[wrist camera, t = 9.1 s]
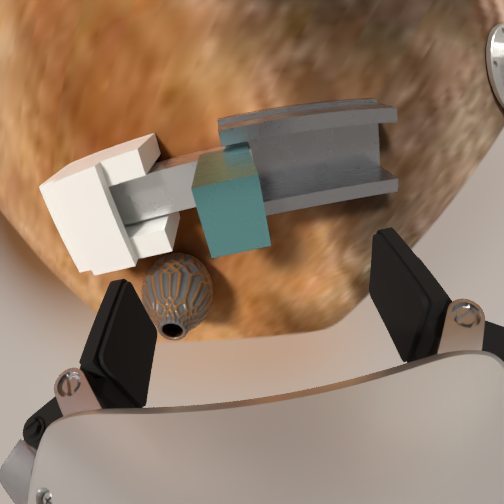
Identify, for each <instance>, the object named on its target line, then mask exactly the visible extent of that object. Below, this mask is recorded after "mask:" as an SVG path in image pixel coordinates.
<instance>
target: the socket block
mask: <svg viewBox="0 0 504 504" xmlns="http://www.w3.org/2000/svg"><path fill="white" fill-rule="evenodd" d="M160 154H161V153H160V149H159V146H158V142H157V139H156V135H155V133H153V134H149V135H146V136H143V137H140V138H137V139H134V140H131V141H128V142H125V143H122V144H119V145H116V146H113V147H110V148H108V149H105V150H102V151H99V152H97V153H94V154H92V155H89V156H86V157H84V158H81V159H79V160H77V161H74V162H72V163H69V164H68V165H67V166H65V167H64V168H63V169H61V170H60V171H59V172H57V173H56V174H55V175H53V176H52V177H51V178H49V179H48V180H47V181H45V182H44V183H43V184H42V185H40V186H39V188H40V190H41V193H42V195H43V198H44V200H45V202H46V205H47V207H48V209H49V212H50V214H51V216H52V218H53V220H54V223H55V225H56V227H57V229H58V231H59V233H60V235H61V237H62V239H63V241H64V243H65V245H66V247H67V249H68V251H69V253H70V255H71V257H72V259H73V261H74V263H75V265H76V266H77V268H78V270H79V272H84V271H89V270H92V272H93V274H94V275H98V274H103V273H107V272H112V271H116V270H121V269H125V268H130V267H134V266H136V264H137V261H138V259H140V258H145V257H149V256H154V255H158V254H162V253H167V252H171V251H173V246H174V242H175V238H176V233H177V229H178V225H179V220H180V214H179V211H177V212H173V213H169V214H165V215H161V216H157V217H153V218H149V219H145V220H141V221H138V222H134V223H130V224H126V225H123V222H122V220H121V218H120V215H119V213H118V210H117V208H116V205H115V202H114V200H113V197H112V195H111V192H110V189H109V187H110V186H113V185H116V184H119V183H122V182H126V181H129V180H132V179H135V178H139V177H142V176H145V175H146V174H147V173H148V171H149V170H150V168H151V167H152V166H153V164H154V163H155V161H156V160H157V159H158V157H159V156H160Z"/></svg>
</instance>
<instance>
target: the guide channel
mask: <svg viewBox="0 0 504 504" xmlns="http://www.w3.org/2000/svg"><path fill="white" fill-rule="evenodd" d="M389 122H398V121H397V108H396V107H392V106H389V105H385V104H381V103H377V101H376V99H373V98H363V99H347V100H335V101H324V102H315V103H306V104H299V105H291V106H284V107H278V108H271V109H265V110H259V111H254V112H248V113H243V114H238V115H233V116H228V117H224V118H219V119H218V132H219V137H220V141H221V146H227V145H232V144H236V143H241V142H246V141H248V143H249V146H250V148H251V152H252V157H253V162H254V164H255V167H256V170H257V172H258V175H259V181H260V186H261V192H262V197H263V203H264V208H265V214H266V216H268V215H273V214H278V213H283V212H288V211H293V210H298V209H303V208H308V207H313V206H318V205H324V204H329V203H334V202H340V201H345V200H351V199H356V198H362V197H367V196H373V195H379V194H385V193H391V192H397V191H398V178H397V177H395V176H394V175H392V174H391V173H389V172H388V171H387V170H385V169H384V168H382V167H381V166H380V151H379V129H378V123H389Z"/></svg>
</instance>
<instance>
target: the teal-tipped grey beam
mask: <svg viewBox="0 0 504 504" xmlns="http://www.w3.org/2000/svg"><path fill="white" fill-rule="evenodd" d="M109 189H110V192H111V195H112V197H113V200H114V202H115V205H116V208H117V210H118V213H119V215H120V218H121V220H122V222H123V225H126V224H130V223H134V222H138V221H141V220H145V219H149V218H153V217H157V216H161V215H165V214H169V213H173V212H177V211H181V210H185V209H190V208H194V207H197V211H198V214H199V218H200V221H201V224H202V228H203V231H204V234H205V238H206V241H207V244H208V247H209V251H210V254H211V257H212V258H215V257H220V256H225V255H230V254H234V253H239V252H244V251H249V250H253V249H258V248H263V247H268V246H271V242H270V236H269V230H268V225H267V219H266V214H265V208H264V203H263V197H262V192H261V186H260V181H259V175H258V172H257V170H256V167H255V164H254V162H253V157H252V152H251V148H250V146H249V143H248V141H246V142H241V143H236V144H232V145H227V146H220V147H216V148H211V149H207V150H203V151H199V152H195V153H191V154H187V155H183V156H179V157H175V158H171V159H168V160H164V161H161V162H157V163H154V164H153V166H152V167H151V168H150V170H149V171H148V173H147V174H146V175H145V176H142V177H139V178H135V179H132V180H129V181H126V182H122V183H119V184H116V185H113V186H110V187H109Z"/></svg>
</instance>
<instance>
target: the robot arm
mask: <svg viewBox="0 0 504 504" xmlns="http://www.w3.org/2000/svg"><path fill="white" fill-rule="evenodd" d="M486 63H487V70H488V75H489V79H490V83H491V86H492V89H493V91H494V94H495V96H496V98H497V100H498V101H499V103H500V104H501V106H502V107H503V108H504V24H503V23H501V24H497V25H496V26H495V27H493V29H492V30H491V32H490V34H489V37H488V40H487V46H486ZM369 292H370V296H371V298H372V300H373V302H374V304H375V306H376V308H377V310H378V312H379V314H380V316H381V318H382V320H383V322H384V323H385V326H386V328H387V330H388V332H389V334H390V336H391V338H392V340H393V342H394V344H395V346H396V348H397V350H398V353H399V355H400V357H401V359H402V360H403V362H406V361H407V363H406V364H403V365H400V366H397V367H393V368H390V369H387V370H383V371H380V372H376V373H372V374H369V375H365V376H362V377H358V378H354V379H350V380H346V381H342V382H338V383H334V384H330V385H326V386H321V387H316V388H311V389H307V390H302V391H297V392H292V393H286V394H281V395H275V396H269V397H263V398H256V399H249V400H241V401H233V402H225V403H215V404H206V405H193V406H180V407H179V406H178V407H159V408H158V407H157V408H142V407H143V406H145V405H146V401H147V394H148V387H149V381H150V374H151V368H152V363H153V356H154V351H155V345H156V340H157V330H156V327H155V326H154V324H153V322H152V320H151V319H150V317H149V315H148V313H147V311H146V310H145V308H144V306H143V304H142V302H141V300H140V299H139V297H138V295H137V293H136V291H135V289H134V287H133V285H132V284H131V282H127V280H125V279H121V280H115V281H112V282H110V284H109V287H108V289H107V291H106V294H105V296H104V298H103V301H102V303H101V306H100V308H99V311H98V313H97V316H96V318H95V321H94V323H93V326H92V328H91V331H90V334H89V337H88V339H87V342H86V345H85V347H84V350H83V353H82V356H81V359H80V364H81V366H80V369H78V368H70V369H67V370H65V371H64V372H63V373H62V374H60V375H59V377H58V378H57V380H56V382H55V386H54V392H55V397H54V398H53V399H52V400H50V401H49V402H48V403H47V404H46V405H44V406H43V407H42V408H41V409H39V410H38V411H37V412H36V413H35V414H33V415H32V416H31V417H30V418H29V419H28V420H27V422H26V423H25V425H24V429H23V437H24V440H21V439H20V440H19V441H18V443H17V444H16V446H15V447H14V449H13V450H12V452H11V453H10V455H9V456H8V458H7V459H6V460H5V462H4V464H3V465H2V466H1V469H0V482H1V484H2V486H3V487H4V489H5V490H6V492H7V493H8V495H9V496H10V498H11V499H12V500H13V502H14V503H15V504H504V327H502V326H499V325H496V324H494V323H491V322H488V321H485V316H484V312H483V310H482V309H481V307H480V306H479V305H478V304H476V303H475V302H473V301H471V300H468V299H458V300H455V301H453V302H452V300H451V299H450V298H449V296H448V295H447V294H446V292H445V291H444V290H443V288H442V287H441V286H440V284H439V283H438V282H437V280H436V279H435V278H434V276H433V275H432V274H431V272H430V271H429V270H428V269H427V267H426V266H425V265H424V264H423V262H422V261H421V260H420V259H419V258H418V257H417V256H416V255H415V254H414V253H413V251H412V250H411V249H410V248H409V246H408V245H407V244H406V243H405V242H404V241H403V239H402V238H401V237H400V236H399V235H398V233H397V232H396V231H395V230H394V229H393V228H386V229H381V230H378V231H377V234H375V235H373V242H372V259H371V273H370V284H369Z"/></svg>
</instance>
